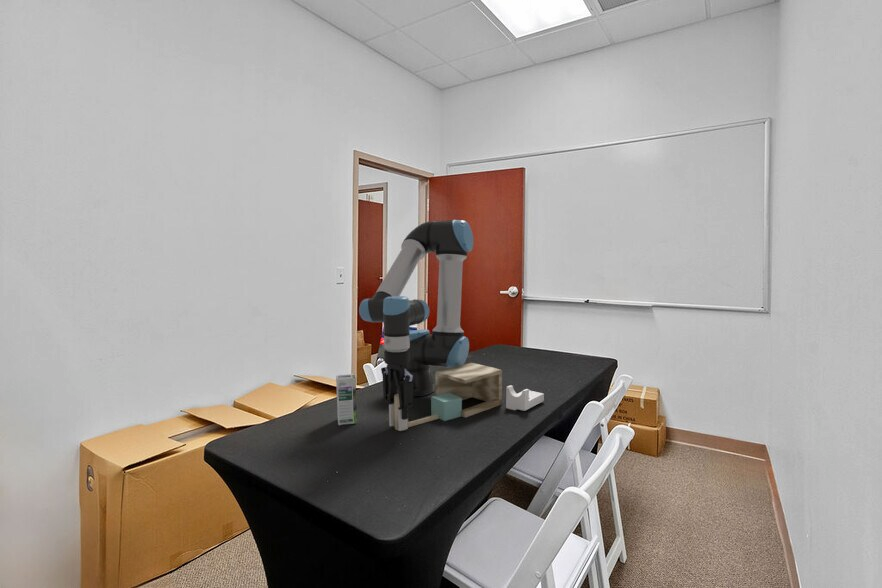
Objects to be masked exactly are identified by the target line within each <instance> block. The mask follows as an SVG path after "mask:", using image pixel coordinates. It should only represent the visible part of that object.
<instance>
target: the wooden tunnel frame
mask: <svg viewBox="0 0 882 588" xmlns="http://www.w3.org/2000/svg"><path fill="white" fill-rule="evenodd" d="M434 379H435V380H434V381H435V382H434V393H435V395H434V396H436V395H440V394H444V393H451V394H453V395H456V396H458V397H461V398H462V401H465V400H467V399H471V398H474V399H476V400H480V401H483V402H481V403H479V404H476V405H472V406H470V407H467V408H464V409H462V416H461V417H462V418H469V417H471V416H474V415H476V414H479V413H482V412H484V411H489V410H491V409H493V408H495V407H499V406H501V405H503V402H502V401H503V369H499V368H497V367H492V366H489V365H488V366H487V365H483V364H479V363H475V362H469V363H464V364H463V365H460V366H456V367H452V368H444V369H439V370H436V371H435V374H434Z"/></svg>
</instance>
